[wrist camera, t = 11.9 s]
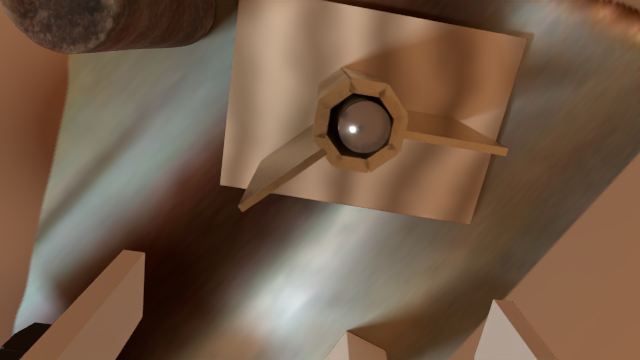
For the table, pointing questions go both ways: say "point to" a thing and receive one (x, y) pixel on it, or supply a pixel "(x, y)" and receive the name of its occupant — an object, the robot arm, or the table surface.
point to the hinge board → (387, 65)
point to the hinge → (328, 143)
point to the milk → (355, 349)
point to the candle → (111, 23)
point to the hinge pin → (362, 123)
